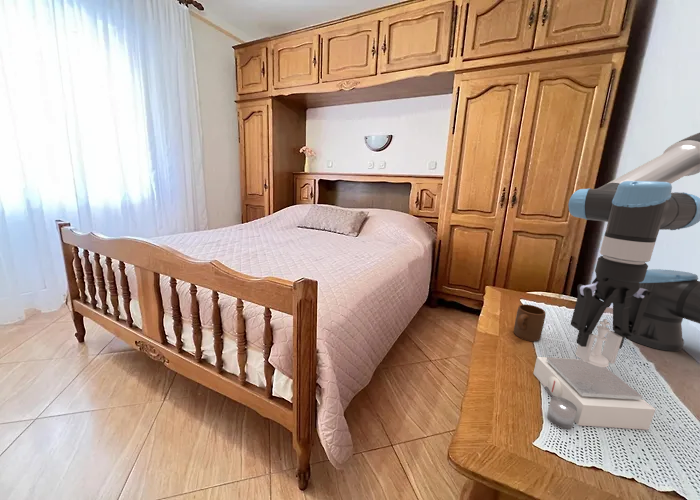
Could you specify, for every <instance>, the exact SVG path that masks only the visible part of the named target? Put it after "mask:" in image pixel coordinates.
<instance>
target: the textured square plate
mask: <svg viewBox="0 0 700 500" xmlns="http://www.w3.org/2000/svg"><path fill="white" fill-rule="evenodd" d="M546 361H547V362H548V363H549V364H550V365H551V366H552V367H553V368H554V369H555V370H556V371H557V372H558V373H559V374H560V375H561V376H562V377H563V378H564V379H565V380H566V381H567V382H568V383H569V384H570V385H571V386H572V387H573V388H574V389H575V390H576V391H577V392H578V393H579V394H580V395H581V396H588V397H604V398H621V399H637V400H642V399H643V397H644V396H643V395H642V394H640V393H639V392H638V391H637V390H635V389H634V388H633V387H631V386H630V385H629V384H628V383H626V382H625V381H624V380H623V379H622V378H620V377H619V376H618V375H617V374H615V373H613V372H612V371H611V370H609V368H608V367H599V366H595V365H592V364H590V363H588V362H584V361H583V360H581V359H580V358H566V359H563V357H562V358H561V357H548V358H547V359H546Z"/></svg>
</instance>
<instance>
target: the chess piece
mask: <svg viewBox="0 0 700 500" xmlns="http://www.w3.org/2000/svg"><path fill="white" fill-rule="evenodd" d="M610 325H611V323H610V322H609V321H608V319H606V318H604V319H603V321H601V320H599V325H596V327H597V334H594V335H595V340H596V341H595V342H594V344H593V346H592V349H591V353H590V357H589V360H588V363H590V364H592V365H595V366H599V367H606V368H608V367H609V366H610V363H609V361H608V359H607V358H605V357H604V356H603V355H602V351H603V344H604V343H603V342H605V341H607V338H606V337H607V333H608V332H609V331H610V329H609V327H607V326H610Z"/></svg>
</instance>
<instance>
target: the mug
mask: <svg viewBox="0 0 700 500" xmlns="http://www.w3.org/2000/svg"><path fill="white" fill-rule="evenodd" d="M546 314H547V313H546V311H545V310H544V309H543V308H541V307H539V306H535V305H531V304H525V303H524V304H519V305H518V307H517V311H516V316H515V321H514V327H513V334H515V336H516V337H518V338H519V339H522V340H524V341H527V342H528V341H529V342H538V341H540V340H541V337H542V333H543V329H544V326H545V319H546Z"/></svg>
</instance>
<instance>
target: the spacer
mask: <svg viewBox="0 0 700 500" xmlns="http://www.w3.org/2000/svg"><path fill="white" fill-rule="evenodd" d="M576 411H577V408H576V406H575V405H574V404H573V403H572V402H570V401H569V400H567V399H564V398H562V397H551V398H550V401H549V405H548V410H547V415H546V416H547V419H548V420H549V421H550V422H551V424H553V425H554V426H556V427H558V428H561V429H563V430H571V429H573V428H574V423H575V421H574V420H575V415H576Z"/></svg>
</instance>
